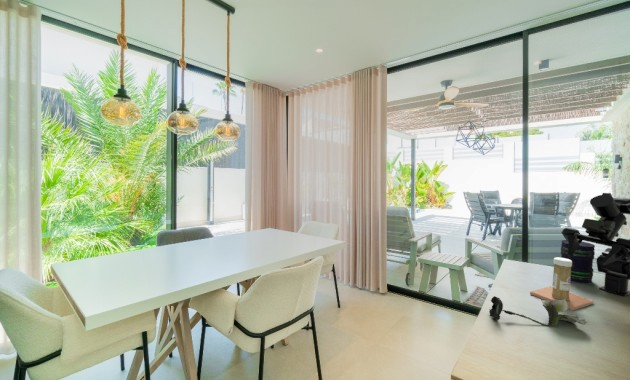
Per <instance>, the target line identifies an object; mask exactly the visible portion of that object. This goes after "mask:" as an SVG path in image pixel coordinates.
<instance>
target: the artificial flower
mask: <svg viewBox="0 0 630 380" xmlns="http://www.w3.org/2000/svg"><path fill="white" fill-rule="evenodd" d="M490 302H491V303H492V305H491V308H489V310H488V312H489V316H490V317H492V319H493V320H496V321H499V320H500V319H501V314H502V312H504V313H505V314H507V315H509V316H510V315H511V316H512V315H513V316H515V315H516V316H519V317H521V318H523V319H528V320H530V321H532V322H534V323H537V324H538V325H541V326H544V327H551V326H556V325H558V324H559V321H560V320H561V321H565V322H568V323H569V322H570V323H572V324H577V323H578V324H581V325H585V324H587V323H588V322H587V321H586V320H585V319H584V318H580V317H578V316H577V315H575V314H572V315H571V314H565V313H564V312H566V311H567V310H568V307H567V305H568V304H567V302H566V300H565V299H564V300H544V299H542V300H541V303H542V306H543V307H544V309H545V310H546V312H547V314H548V323H547V324H546V323H544V322H543V323H542V322H540V321H538V320H536V319H533V318H530V317H527V316H526V315H524V314H519V313H516V312H513V311H510V310H505V309H504V304H503V301H502V299H501V298H500V297H497V296H493V297H492V298H491V300H490ZM562 313H563V314H562Z"/></svg>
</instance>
